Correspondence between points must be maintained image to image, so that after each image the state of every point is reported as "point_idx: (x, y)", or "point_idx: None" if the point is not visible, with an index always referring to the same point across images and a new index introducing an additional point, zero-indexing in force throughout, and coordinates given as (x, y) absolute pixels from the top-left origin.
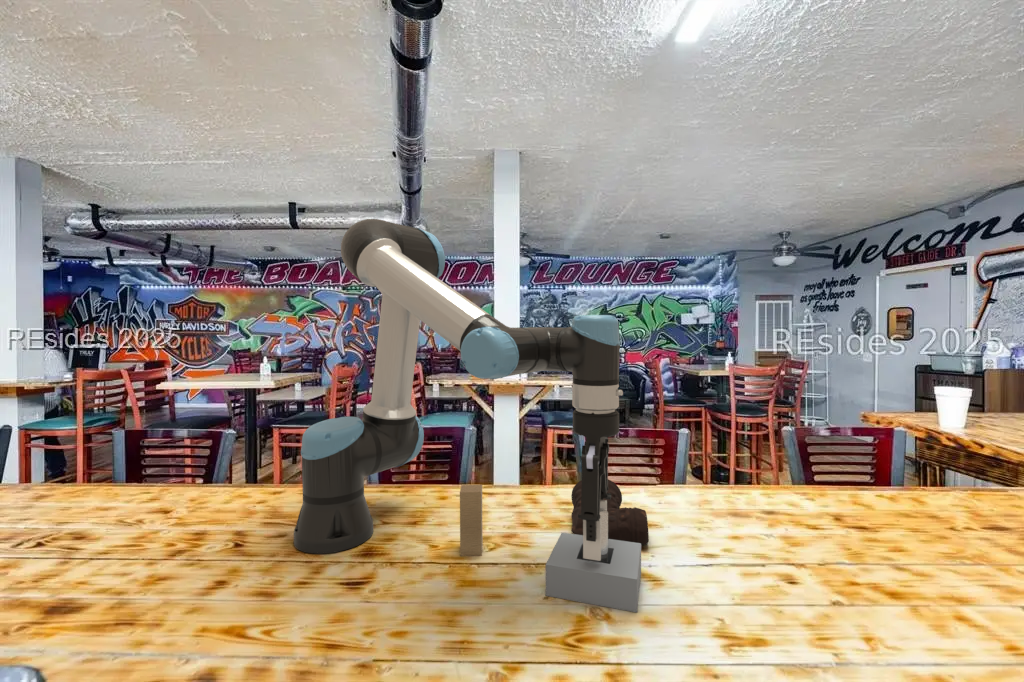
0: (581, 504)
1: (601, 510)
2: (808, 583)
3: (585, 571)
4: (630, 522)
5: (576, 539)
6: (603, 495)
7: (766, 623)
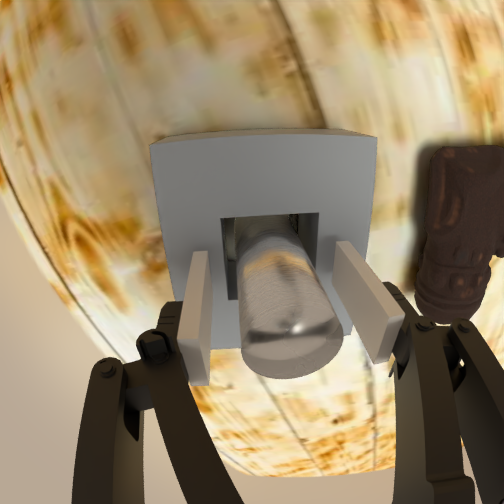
0: (83, 411)
1: (312, 359)
2: (335, 428)
3: (166, 255)
4: (441, 296)
5: (342, 190)
6: (396, 367)
7: (242, 413)
